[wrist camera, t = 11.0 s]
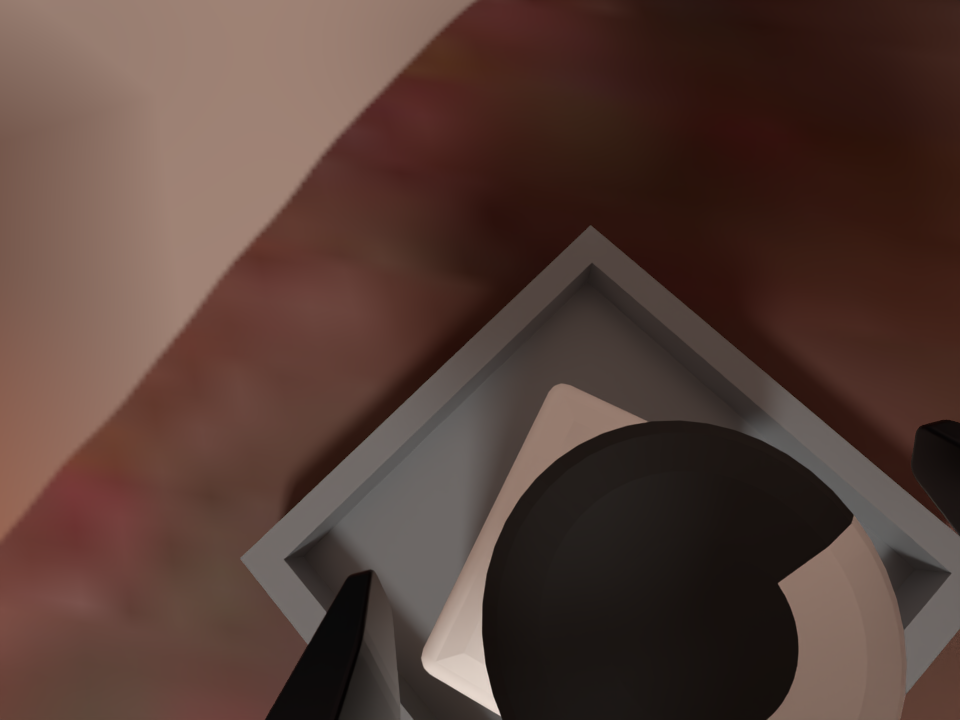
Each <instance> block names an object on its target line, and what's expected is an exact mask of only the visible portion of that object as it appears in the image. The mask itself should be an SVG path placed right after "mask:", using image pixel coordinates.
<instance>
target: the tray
mask: <svg viewBox="0 0 960 720" xmlns="http://www.w3.org/2000/svg"><path fill="white" fill-rule="evenodd" d="M561 383H562V384H567V385H571V386H573V387H575V388H577V389H579V390H582V391H584V392H586V393H588V394H590V395H592V396H594V397H597V398H599V399H601V400H603V401H605V402H607V403H609V404H612V405H614V406H616V407H618V408H620V409H622V410H624V411H627V412H629V413H631V414H633V415H635V416H637V417H639V418H642V419H644V420H646V421H648V422H651V421H676V420H681V421H691V422H700V423H708V424H712V425H716V426H721V427H725V428H729V429H733V430H736V431H739V432H741V433H744V434H747V435H749V436H752V437H754V438H757V439H760V440H762V441H764V442H766V443H768V444H769V445H771V446H773V447H775V448H777V449H779V450H781V451H782V452H784V453H786V454H788V455H789V456H791V457H792V458H793V459H795V460H796V461H798V462H799V463H801V464H802V465H803V466H805V467H806V468H808V469H809V470H810V471H812V472H813V473H814V474H815V475H816V476H817V477H818V478H819V479H821V480H822V481H823V482H824V483H825V484H826V485H827V486H828V487H829V488H830V489H832V490H833V491H834V492H835V494H836V495H837V496H838V497H839V498H840V499H841V500H842V502H843V503H844V504H845V505H846V506H847V507H848V509H849V510H850V511H851V512H852V513H853V514H854V516H855V517H856V519H857V520H858V522H859V523H860V525H861V526H862V528H863V529H864V530H865V532H866V533H867V535H868V536H869V538H870V539H871V541H872V543H873V545H874V547H875V549H876V551H877V553H878V555H879V557H880V559H881V561H882V562H883V564H884V566H885V568H886V571H887V574H888V576H889V579H890V582H891V585H892V587H893V590H894V593H895V596H896V598H897V602H898V607H899V611H900V616H901V620H902V625H903V629H904V638H905V649H906V661H907V669H906V688H905V695H906V693H907V692H908V691H909V690H910V689H911V687H912V686H913V685H914V684H915V682H916V681H917V680H918V679H919V678H920V676H921V675H922V674H923V673H924V671H925V670H926V669H927V668H928V667H929V665H930V664H931V663H932V662H933V660H934V659H935V658H936V657H937V656H938V654H939V653H940V652H941V651H942V650H943V648H944V647H945V646H946V645H947V643H948V642H949V641H950V640H951V639H952V637H953V636H954V635H955V634H956V632H957V631H958V630H959V629H960V537H959V536H958V535H957V534H956V533H955V532H954V531H952V530H951V529H950V528H949V527H948V526H946V525H945V524H944V523H943V522H942V521H941V520H939V519H938V518H937V517H936V516H935V515H933V514H932V513H931V512H930V511H929V510H927V509H926V508H925V507H924V506H923V505H922V504H920V503H919V502H918V501H917V500H916V499H914V498H913V497H912V496H911V495H910V494H909V493H907V492H906V491H905V490H904V489H903V488H901V487H900V486H899V485H898V484H897V483H896V482H894V481H893V480H892V479H891V478H890V477H888V476H887V475H886V474H885V473H884V472H882V471H881V470H880V469H879V468H878V467H877V466H875V465H874V464H873V463H872V462H871V461H869V460H868V459H867V458H866V457H865V456H864V455H862V454H861V453H860V452H859V451H858V450H856V449H855V448H854V447H853V446H852V445H851V444H849V443H848V442H847V441H846V440H845V439H843V438H842V437H841V436H840V435H839V434H837V433H836V432H835V431H834V430H833V429H832V428H830V427H829V426H828V425H827V424H826V423H824V422H823V421H822V420H821V419H820V418H819V417H817V416H816V415H815V414H814V413H813V412H811V411H810V410H809V409H808V408H807V407H805V406H804V405H803V404H802V403H801V402H800V401H798V400H797V399H796V398H795V397H794V396H792V395H791V394H790V393H789V392H788V391H787V390H785V389H784V388H783V387H782V386H781V385H779V384H778V383H777V382H776V381H775V380H774V379H772V378H771V377H770V376H769V375H768V374H766V373H765V372H764V371H763V370H762V369H760V368H759V367H758V366H757V365H756V364H755V363H753V362H752V361H751V360H750V359H749V358H747V357H746V356H745V355H744V354H743V353H742V352H740V351H739V350H738V349H737V348H736V347H734V346H733V345H732V344H731V343H730V342H729V341H727V340H726V339H725V338H724V337H723V336H721V335H720V334H719V333H718V332H717V331H715V330H714V329H713V328H712V327H711V326H710V325H708V324H707V323H706V322H705V321H704V320H702V319H701V318H700V317H699V316H698V315H697V314H695V313H694V312H693V311H692V310H691V309H689V308H688V307H687V306H686V305H685V304H684V303H682V302H681V301H680V300H679V299H678V298H676V297H675V296H674V295H673V294H672V293H670V292H669V291H668V290H667V289H666V288H665V287H663V286H662V285H661V284H660V283H659V282H657V281H656V280H655V279H654V278H653V277H652V276H650V275H649V274H648V273H647V272H646V271H644V270H643V269H642V268H641V267H640V266H638V265H637V264H636V263H635V262H634V261H633V260H631V259H630V258H629V257H628V256H627V255H625V254H624V253H623V252H622V251H621V250H620V249H618V248H617V247H616V246H615V245H614V244H612V243H611V242H610V241H609V240H608V239H607V238H605V237H604V236H603V235H602V234H601V233H599V232H598V231H597V230H596V229H595V228H593V227H592V226H591V225H590V226H589V227H588V228H587V229H586V230H585V231H584V232H583V233H582V234H581V235H580V236H579V237H578V238H577V239H576V240H575V241H573V242H572V243H571V244H570V245H569V246H568V247H567V248H566V249H565V250H564V251H563V252H562V253H561V254H560V255H559V256H558V257H557V258H556V259H555V260H553V261H552V262H551V263H550V264H549V265H548V266H547V267H546V268H545V269H544V270H543V271H542V272H541V273H540V274H539V275H538V276H537V277H536V278H535V279H534V280H532V281H531V282H530V283H529V284H528V285H527V286H526V287H525V288H524V289H523V290H522V291H521V292H520V293H519V294H518V295H517V296H516V297H515V298H514V299H512V300H511V301H510V302H509V303H508V304H507V305H506V306H505V307H504V308H503V309H502V310H501V311H500V312H499V313H498V314H497V315H496V316H495V317H494V318H492V319H491V320H490V321H489V322H488V323H487V324H486V325H485V326H484V327H483V328H482V329H481V330H480V331H479V332H478V333H477V334H476V335H475V336H474V337H473V338H471V339H470V340H469V341H468V342H467V343H466V344H465V345H464V346H463V347H462V348H461V349H460V350H459V351H458V352H457V353H456V354H455V355H454V356H453V357H451V358H450V359H449V360H448V361H447V362H446V363H445V364H444V365H443V366H442V367H441V368H440V369H439V370H438V371H437V372H436V373H435V374H434V375H433V376H431V377H430V378H429V379H428V380H427V381H426V382H425V383H424V384H423V385H422V386H421V387H420V388H419V389H418V390H417V391H416V392H415V393H414V394H413V395H412V396H410V397H409V398H408V399H407V400H406V401H405V402H404V403H403V404H402V405H401V406H400V407H399V408H398V409H397V410H396V411H395V412H394V413H393V414H392V415H390V416H389V417H388V418H387V419H386V420H385V421H384V422H383V423H382V424H381V425H380V426H379V427H378V428H377V429H376V430H375V431H374V432H373V433H372V434H370V435H369V436H368V437H367V438H366V439H365V440H364V441H363V442H362V443H361V444H360V445H359V446H358V447H357V448H356V449H355V450H354V451H353V452H352V453H351V454H349V455H348V456H347V457H346V458H345V459H344V460H343V461H342V462H341V463H340V464H339V465H338V466H337V467H336V468H335V469H334V470H333V471H332V472H331V473H329V474H328V475H327V476H326V477H325V478H324V479H323V480H322V481H321V482H320V483H319V484H318V485H317V486H316V487H315V488H314V489H313V490H312V491H311V492H309V493H308V494H307V495H306V496H305V497H304V498H303V499H302V500H301V501H300V502H299V503H298V504H297V505H296V506H295V507H294V508H293V509H292V510H291V511H290V512H288V513H287V514H286V515H285V516H284V517H283V518H282V519H281V520H280V521H279V522H278V523H277V524H276V525H275V526H274V527H273V528H272V529H271V530H270V531H268V532H267V533H266V534H265V535H264V536H263V537H262V538H261V539H260V540H259V541H258V542H257V543H256V544H255V545H254V546H253V547H252V548H251V549H250V550H248V551H247V552H246V553H245V554H244V555H243V556H242V557H241V558H240V559H241V560H242V562H243V563H244V564H245V565H246V567H247V568H248V569H249V570H250V572H251V573H252V574H253V575H254V577H255V578H256V579H257V581H258V582H259V583H260V584H261V586H262V587H263V588H264V589H265V591H266V592H267V593H268V594H269V596H270V597H271V598H272V600H273V601H274V602H275V603H276V605H277V606H278V607H279V608H280V610H281V611H282V612H283V614H284V615H285V616H286V617H287V619H288V620H289V621H290V622H291V624H292V625H293V626H294V627H295V629H296V630H297V631H298V633H299V634H300V635H301V636H302V638H303V639H304V640H305V641H306V643H307V644H309V642H310V640H311V639H312V637H313V635H314V633H315V632H316V630H317V628H318V627H319V625H320V623H321V621H322V620H323V618H324V616H325V614H326V613H327V611H328V609H329V607H330V606H331V604H332V602H333V600H334V599H335V597H336V595H337V593H338V592H339V590H340V588H341V587H342V585H343V583H344V581H345V580H346V578H347V577H348V576H349V575H351V574H353V573H357V572H361V571H365V570H369V569H371V570H374V571H375V572H376V574H377V576H378V578H379V580H380V582H381V584H382V587H383V589H384V591H385V593H386V595H387V597H388V600H389V602H390V605H391V609H392V616H393V627H394V638H395V649H396V661H397V672H398V683H399V695H400V709H401V720H502V718H501V716H500V715H498V714H496V713H494V712H493V711H491V710H489V709H488V708H486V707H484V706H483V705H481V704H479V703H478V702H476V701H474V700H473V699H471V698H469V697H467V696H466V695H464V694H462V693H461V692H459V691H457V690H456V689H454V688H452V687H451V686H449V685H447V684H446V683H444V682H442V681H440V680H439V679H437V678H435V677H434V676H432V675H430V674H429V673H428V672H427V671H426V670H425V669H424V667H423V663H422V660H421V657H422V652H423V648H424V646H425V644H426V642H427V640H428V638H429V636H430V634H431V632H432V630H433V628H434V626H435V624H436V622H437V620H438V618H439V616H440V613H441V611H442V609H443V607H444V605H445V603H446V601H447V599H448V597H449V595H450V593H451V591H452V589H453V587H454V585H455V583H456V581H457V579H458V577H459V575H460V573H461V571H462V568H463V566H464V564H465V562H466V560H467V558H468V556H469V554H470V552H471V550H472V548H473V546H474V544H475V542H476V540H477V538H478V536H479V534H480V532H481V530H482V528H483V526H484V523H485V521H486V519H487V517H488V515H489V513H490V511H491V509H492V507H493V505H494V503H495V501H496V499H497V497H498V495H499V493H500V491H501V489H502V487H503V485H504V483H505V480H506V478H507V476H508V474H509V472H510V470H511V468H512V466H513V464H514V462H515V460H516V458H517V456H518V454H519V452H520V450H521V448H522V446H523V444H524V442H525V440H526V438H527V435H528V433H529V431H530V429H531V427H532V425H533V423H534V421H535V419H536V417H537V415H538V413H539V411H540V409H541V407H542V405H543V403H544V401H545V399H546V397H547V395H548V392H549V391H550V390H551V389H552V388H553V387H554V386H555V385H558V384H561Z"/></svg>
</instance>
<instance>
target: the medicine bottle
mask: <svg viewBox="0 0 960 720" xmlns="http://www.w3.org/2000/svg"><path fill="white" fill-rule="evenodd" d="M421 660H422V663H423V667H424V669H425V670H426V671H427V672H428V673H429V674H430V675H432V676H434V677H435V678H437V679H439V680H440V681H442V682H444V683H446V684H447V685H449V686H451V687H452V688H454V689H456V690H457V691H459V692H461V693H462V694H464V695H466V696H467V697H469V698H471V699H473V700H474V701H476V702H478V703H479V704H481V705H483V706H484V707H486V708H488V709H489V710H491V711H493V712H494V713H496V714H498V715H500V716H501V718H502V720H900V719H901V714H902V709H903V704H904V699H905V688H906V669H907V661H906V649H905V638H904V629H903V625H902V620H901V616H900V611H899V607H898V602H897V598H896V596H895V593H894V590H893V587H892V585H891V582H890V579H889V576H888V574H887V571H886V568H885V566H884V564H883V562H882V561H881V559H880V557H879V555H878V553H877V551H876V549H875V547H874V545H873V543H872V541H871V539H870V538H869V536H868V535H867V533H866V532H865V530H864V529H863V528H862V526H861V525H860V523H859V522H858V520H857V519H856V517H855V516H854V514H853V513H852V512H851V511H850V510H849V509H848V507H847V506H846V505H845V504H844V503H843V502H842V500H841V499H840V498H839V497H838V496H837V495H836V494H835V492H834V491H833V490H832V489H830V488H829V487H828V486H827V485H826V484H825V483H824V482H823V481H822V480H821V479H819V478H818V477H817V476H816V475H815V474H814V473H813V472H812V471H810V470H809V469H808V468H806V467H805V466H803V465H802V464H801V463H799V462H798V461H796V460H795V459H793V458H792V457H791V456H789V455H788V454H786V453H784V452H782V451H781V450H779V449H777V448H775V447H773V446H771V445H769V444H768V443H766V442H764V441H762V440H760V439H757V438H754V437H752V436H749V435H747V434H744V433H741V432H739V431H736V430H733V429H729V428H725V427H721V426H716V425H712V424H708V423H700V422H691V421H681V420H676V421H651V422H648V421H646V420H644V419H642V418H639V417H637V416H635V415H633V414H631V413H629V412H627V411H624V410H622V409H620V408H618V407H616V406H614V405H612V404H609V403H607V402H605V401H603V400H601V399H599V398H597V397H594V396H592V395H590V394H588V393H586V392H584V391H582V390H579V389H577V388H575V387H573V386H571V385H567V384H562V383H561V384H558V385H555V386H554V387H553V388H552V389H551V390H550V391H549V392H548V395H547V397H546V399H545V401H544V403H543V405H542V407H541V409H540V411H539V413H538V415H537V417H536V419H535V421H534V423H533V425H532V427H531V429H530V431H529V433H528V435H527V438H526V440H525V442H524V444H523V446H522V448H521V450H520V452H519V454H518V456H517V458H516V460H515V462H514V464H513V466H512V468H511V470H510V472H509V474H508V476H507V478H506V480H505V483H504V485H503V487H502V489H501V491H500V493H499V495H498V497H497V499H496V501H495V503H494V505H493V507H492V509H491V511H490V513H489V515H488V517H487V519H486V521H485V523H484V526H483V528H482V530H481V532H480V534H479V536H478V538H477V540H476V542H475V544H474V546H473V548H472V550H471V552H470V554H469V556H468V558H467V560H466V562H465V564H464V566H463V568H462V571H461V573H460V575H459V577H458V579H457V581H456V583H455V585H454V587H453V589H452V591H451V593H450V595H449V597H448V599H447V601H446V603H445V605H444V607H443V609H442V611H441V613H440V616H439V618H438V620H437V622H436V624H435V626H434V628H433V630H432V632H431V634H430V636H429V638H428V640H427V642H426V644H425V646H424V648H423V652H422V657H421Z"/></svg>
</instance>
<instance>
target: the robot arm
mask: <svg viewBox="0 0 960 720" xmlns="http://www.w3.org/2000/svg"><path fill="white" fill-rule="evenodd" d="M911 468H912V472H913V475H914V477H915V478H916V480H917V481H918V483H919V484H920V485H921V487H922V488H923V489H924V491H925V492H926V493H927V494H928V496H929V497H930V498H931V500H932V501H933V502H934V503H935V505H936V506H937V507H938V509H939V510H940V511H941V513H942V514H943V515H944V516H945V518H946V519H947V520H948V522H949V523H950V524H951V526H952V527H953V528H954V529H955V531H956V532H957V533H958V535H959V536H960V423H958V422H955V421H951V420H940V421H937V422H933V423H929V424H925V425H922V426H920V427H919V428H918V430H917V431H916V436H915V442H914V448H913V454H912V460H911ZM265 720H401V709H400V695H399V683H398V672H397V661H396V649H395V638H394V627H393V616H392V609H391V605H390V602H389V600H388V597H387V595H386V593H385V591H384V589H383V587H382V584H381V582H380V580H379V578H378V576H377V574H376V572H375V571H374V570H371V569H369V570H365V571H361V572H357V573H353V574H351V575H349V576H348V577H347V578H346V580H345V581H344V583H343V585H342V587H341V588H340V590H339V592H338V593H337V595H336V597H335V599H334V600H333V602H332V604H331V606H330V607H329V609H328V611H327V613H326V614H325V616H324V618H323V620H322V621H321V623H320V625H319V627H318V628H317V630H316V632H315V633H314V635H313V637H312V639H311V640H310V642H309V644H308V646H307V647H306V649H305V651H304V653H303V654H302V656H301V658H300V660H299V661H298V663H297V665H296V666H295V668H294V670H293V672H292V673H291V675H290V677H289V679H288V680H287V682H286V684H285V686H284V687H283V689H282V691H281V693H280V694H279V696H278V698H277V700H276V701H275V703H274V705H273V706H272V708H271V710H270V712H269V713H268V715H267V717H266V719H265Z"/></svg>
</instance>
